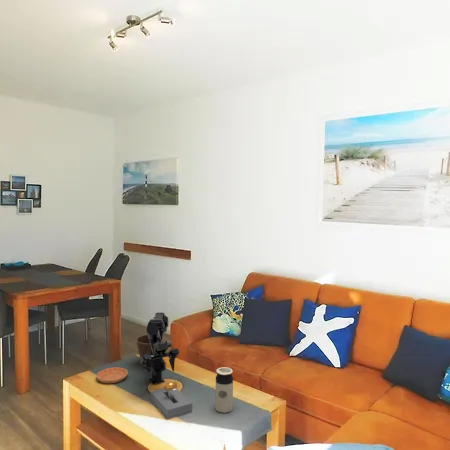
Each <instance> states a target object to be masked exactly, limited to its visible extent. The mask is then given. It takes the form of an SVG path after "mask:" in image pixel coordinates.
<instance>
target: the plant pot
mask: <svg viewBox="0 0 450 450" xmlns="http://www.w3.org/2000/svg"><path fill="white" fill-rule="evenodd" d="M136 347H137V350H138V355H139V358H140V359H141V358H142V356H143V355H145V354H150V353H151V352H152V350H151V345H150V341H149V338H148V334H144V335H141V336H138V337H137V338H136ZM142 367H143V368H144V367H145V369H148V367H147V366H144V365H142Z"/></svg>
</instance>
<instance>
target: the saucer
mask: <svg viewBox="0 0 450 450" xmlns="http://www.w3.org/2000/svg"><path fill="white" fill-rule="evenodd" d="M128 372H129V371H128V370H127V369H126V368H123V367H114V366H113V367H108V368H104V369H102V370H100V371H98V372H97V373H96V379H97V380H98V381H99V382H101V383H103V384H107V385H108V384H110V385H111V384H117V383H120V382H122V381H124V379H126V377H127V376H128Z"/></svg>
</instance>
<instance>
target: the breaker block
mask: <svg viewBox="0 0 450 450" xmlns="http://www.w3.org/2000/svg"><path fill="white" fill-rule="evenodd" d="M149 396H150V401H151V402H152V404H154V406H155V407H156V408H157V409H158V410H159V411H160V412H161V414H162V415H163V416H164V417H165V419H166V420H169V419H173V418H176V417H179V416H182V415H186V414H189V413H193V403H192V402H191V401H190V400H189V399H188V398H187V397H186V396H185V395H184V394H183V393H182V392H181V391H180V390H179V389H178V388H176V389H173V402H172V401H171V400H170V399H169V390H168V391H166V390H165V387H163V388H159V389H155V390H151V391H150V395H149Z"/></svg>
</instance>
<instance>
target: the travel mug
mask: <svg viewBox="0 0 450 450" xmlns="http://www.w3.org/2000/svg"><path fill="white" fill-rule="evenodd" d="M215 372H216V376H215V397H214V398H215V405H214V406H215V410H216V412H219V413H221V414H222V413H223V414H224V413H229V412H231V411H232V410H233V408H234V376H233V372H234V371H233V369H232V368H231V367H225V366H224V367H218V368H217V369H216V371H215Z"/></svg>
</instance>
